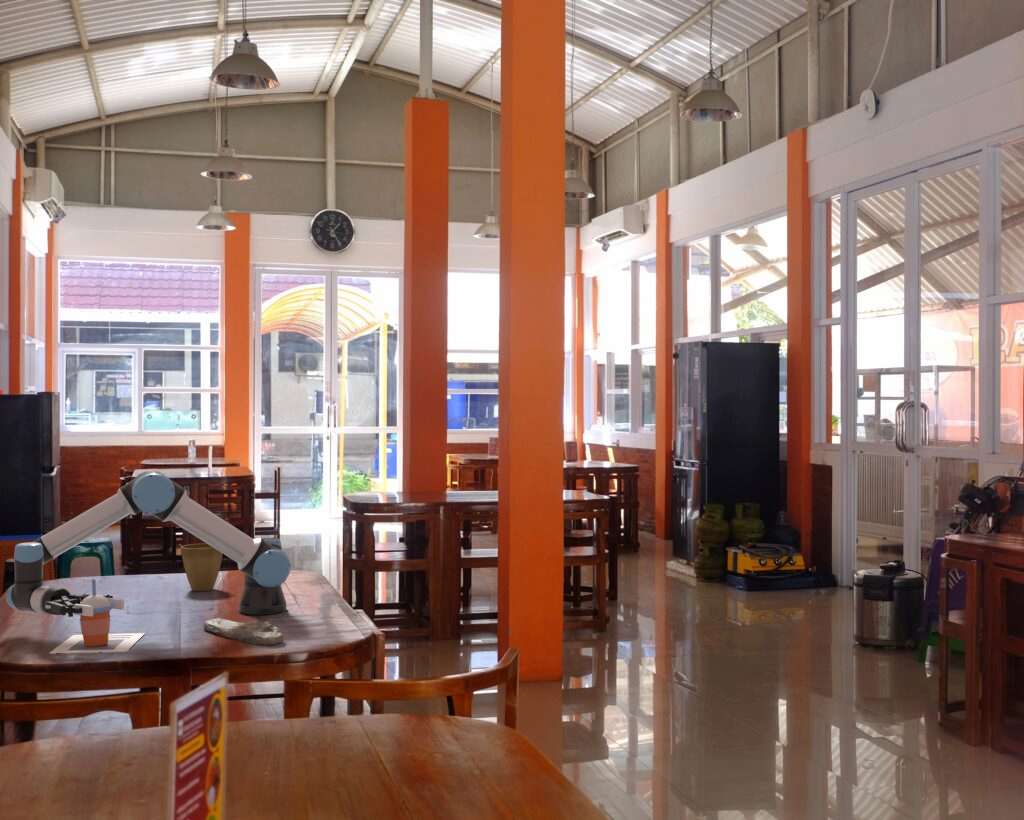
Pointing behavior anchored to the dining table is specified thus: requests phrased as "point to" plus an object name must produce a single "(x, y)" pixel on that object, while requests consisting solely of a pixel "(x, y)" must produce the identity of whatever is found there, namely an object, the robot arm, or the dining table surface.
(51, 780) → the dining table surface
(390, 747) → the dining table surface
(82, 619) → the cup with straw
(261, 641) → the elongated rock
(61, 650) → the picture frame
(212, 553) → the plant pot
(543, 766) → the dining table surface
